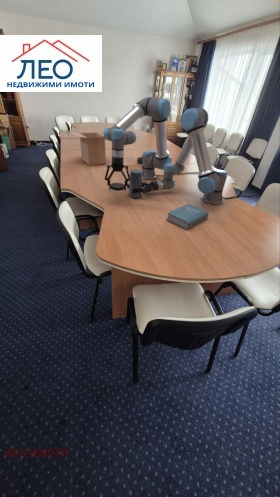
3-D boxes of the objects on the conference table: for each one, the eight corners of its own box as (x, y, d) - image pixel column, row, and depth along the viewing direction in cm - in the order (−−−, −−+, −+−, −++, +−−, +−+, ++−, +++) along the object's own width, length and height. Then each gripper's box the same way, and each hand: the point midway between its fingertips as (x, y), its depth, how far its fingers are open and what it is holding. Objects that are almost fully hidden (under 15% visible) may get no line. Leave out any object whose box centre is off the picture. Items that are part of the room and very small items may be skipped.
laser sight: (156, 166, 235) (157, 156, 229) (136, 164, 237) (136, 154, 231) (157, 164, 242) (158, 154, 236) (138, 161, 245) (138, 152, 239)
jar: (129, 198, 166) (130, 172, 154) (128, 193, 173) (129, 168, 162) (141, 198, 166) (143, 173, 155) (140, 193, 174) (142, 169, 163)
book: (187, 209, 155) (188, 203, 152) (207, 218, 146) (209, 211, 143) (166, 219, 142) (167, 212, 139) (187, 230, 133) (188, 222, 130)
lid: (127, 187, 155) (127, 184, 154) (120, 191, 147) (120, 189, 146) (115, 184, 158) (114, 181, 157) (107, 188, 151) (107, 185, 149)
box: (116, 165, 229) (116, 136, 213) (83, 168, 214) (80, 137, 198) (102, 154, 259) (101, 128, 243) (71, 156, 244) (68, 129, 228)
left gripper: (99, 157, 136) (100, 191, 149) (135, 158, 139) (134, 192, 152) (100, 154, 142) (101, 187, 155) (134, 155, 145) (133, 188, 158)
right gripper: (162, 195, 167) (135, 199, 159) (149, 185, 183) (124, 188, 175) (163, 186, 163) (136, 189, 154) (150, 176, 178) (124, 178, 170)
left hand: (117, 190), depth 154 cm, fingers closed on lid, 10 cm apart
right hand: (129, 188), depth 164 cm, fingers closed on jar, 9 cm apart
